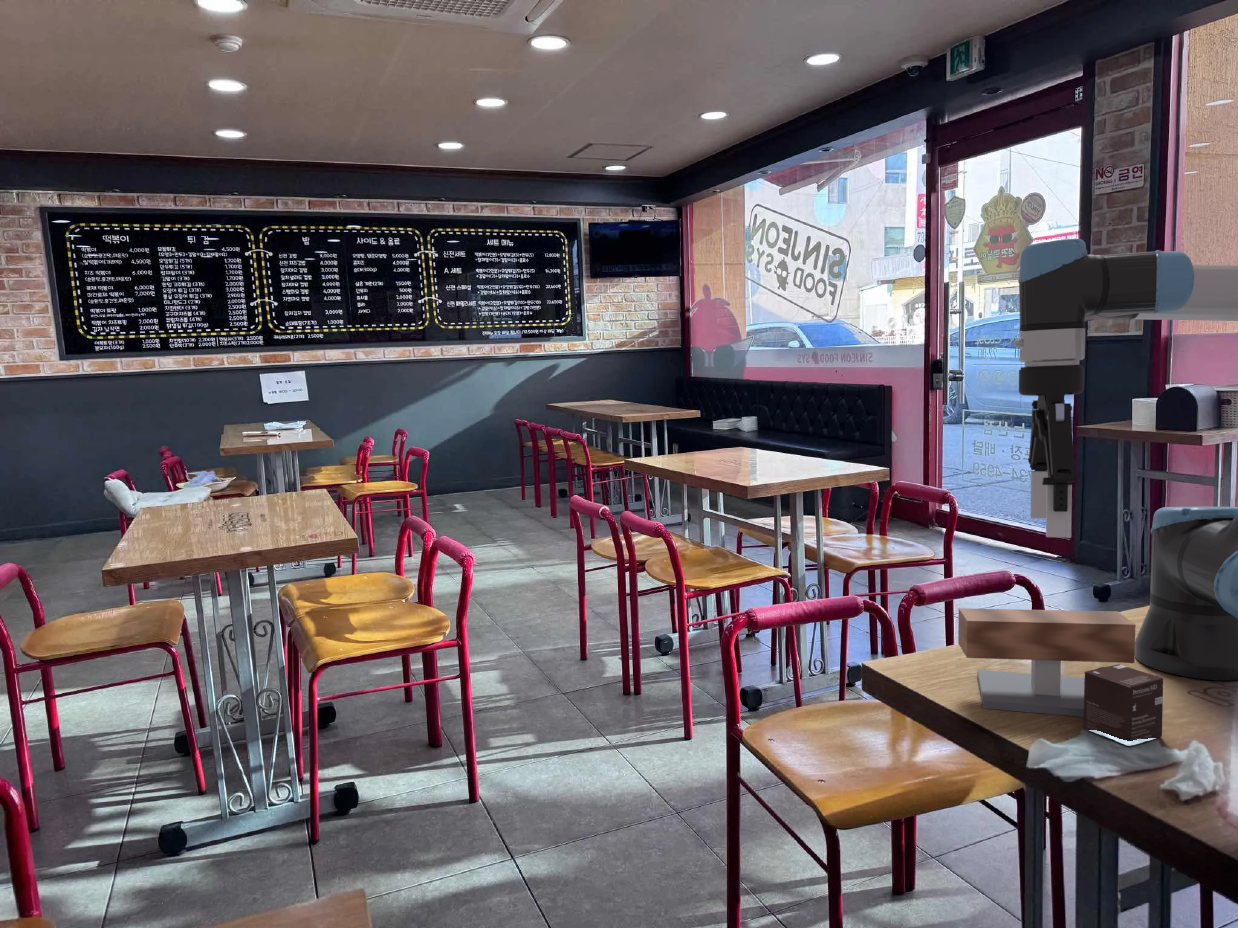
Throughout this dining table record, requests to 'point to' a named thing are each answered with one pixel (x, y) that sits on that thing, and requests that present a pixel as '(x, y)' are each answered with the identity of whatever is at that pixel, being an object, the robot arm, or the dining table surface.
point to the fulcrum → (1033, 690)
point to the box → (1123, 702)
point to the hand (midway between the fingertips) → (1049, 527)
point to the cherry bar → (1046, 635)
